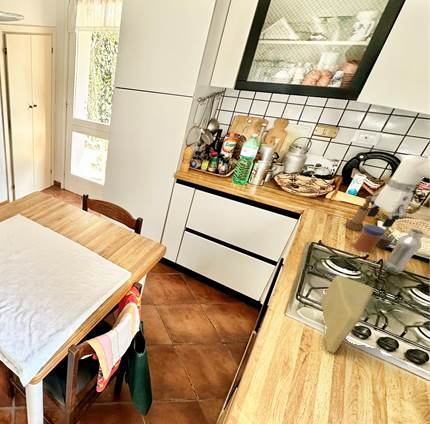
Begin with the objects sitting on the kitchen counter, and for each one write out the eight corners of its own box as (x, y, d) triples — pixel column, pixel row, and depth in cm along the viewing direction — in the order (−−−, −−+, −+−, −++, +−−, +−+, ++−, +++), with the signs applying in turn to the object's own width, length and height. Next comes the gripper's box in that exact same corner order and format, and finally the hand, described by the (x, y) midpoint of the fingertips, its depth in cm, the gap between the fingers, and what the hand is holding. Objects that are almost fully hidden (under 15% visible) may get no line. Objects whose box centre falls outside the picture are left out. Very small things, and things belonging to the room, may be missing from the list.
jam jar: (371, 247, 143) (383, 228, 138) (373, 254, 138) (385, 235, 133) (352, 242, 146) (363, 224, 141) (354, 248, 141) (365, 230, 136)
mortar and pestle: (365, 231, 156) (384, 199, 147) (352, 230, 156) (370, 199, 147) (354, 224, 161) (371, 193, 153) (341, 224, 161) (358, 193, 153)
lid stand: (386, 245, 144) (391, 237, 142) (388, 249, 141) (393, 241, 139) (373, 242, 147) (378, 234, 145) (374, 246, 144) (379, 238, 141)
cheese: (351, 363, 90) (378, 328, 83) (310, 343, 96) (332, 309, 88) (352, 319, 105) (375, 286, 97) (317, 304, 110) (336, 272, 103)
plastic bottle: (393, 268, 129) (422, 228, 119) (403, 278, 123) (434, 237, 114) (374, 265, 131) (401, 225, 121) (383, 275, 125) (412, 234, 116)
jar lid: (382, 231, 138) (383, 228, 137) (384, 237, 133) (386, 234, 133) (362, 226, 142) (364, 223, 141) (363, 232, 137) (365, 229, 136)
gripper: (430, 195, 119) (404, 232, 127) (393, 178, 134) (372, 212, 142) (409, 193, 119) (384, 231, 128) (374, 176, 134) (354, 211, 143)
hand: (378, 221), depth 135 cm, fingers open, 8 cm apart
